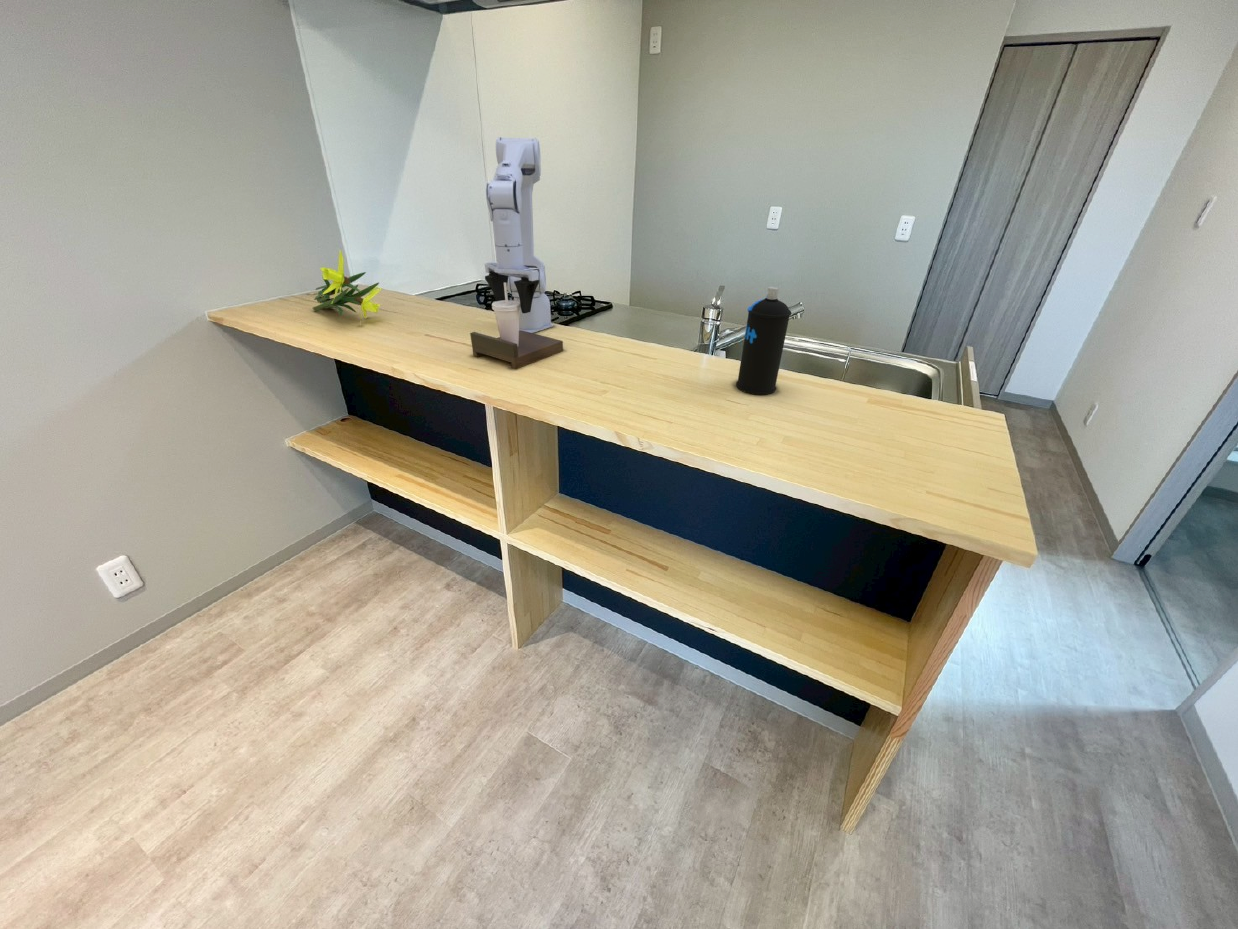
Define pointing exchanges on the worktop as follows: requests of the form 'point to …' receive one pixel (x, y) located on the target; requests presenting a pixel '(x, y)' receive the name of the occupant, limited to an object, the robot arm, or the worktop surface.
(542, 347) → the shelf
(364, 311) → the daffodil flowers
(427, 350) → the worktop surface
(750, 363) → the aerosol can
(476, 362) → the worktop surface
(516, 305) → the smoothie
